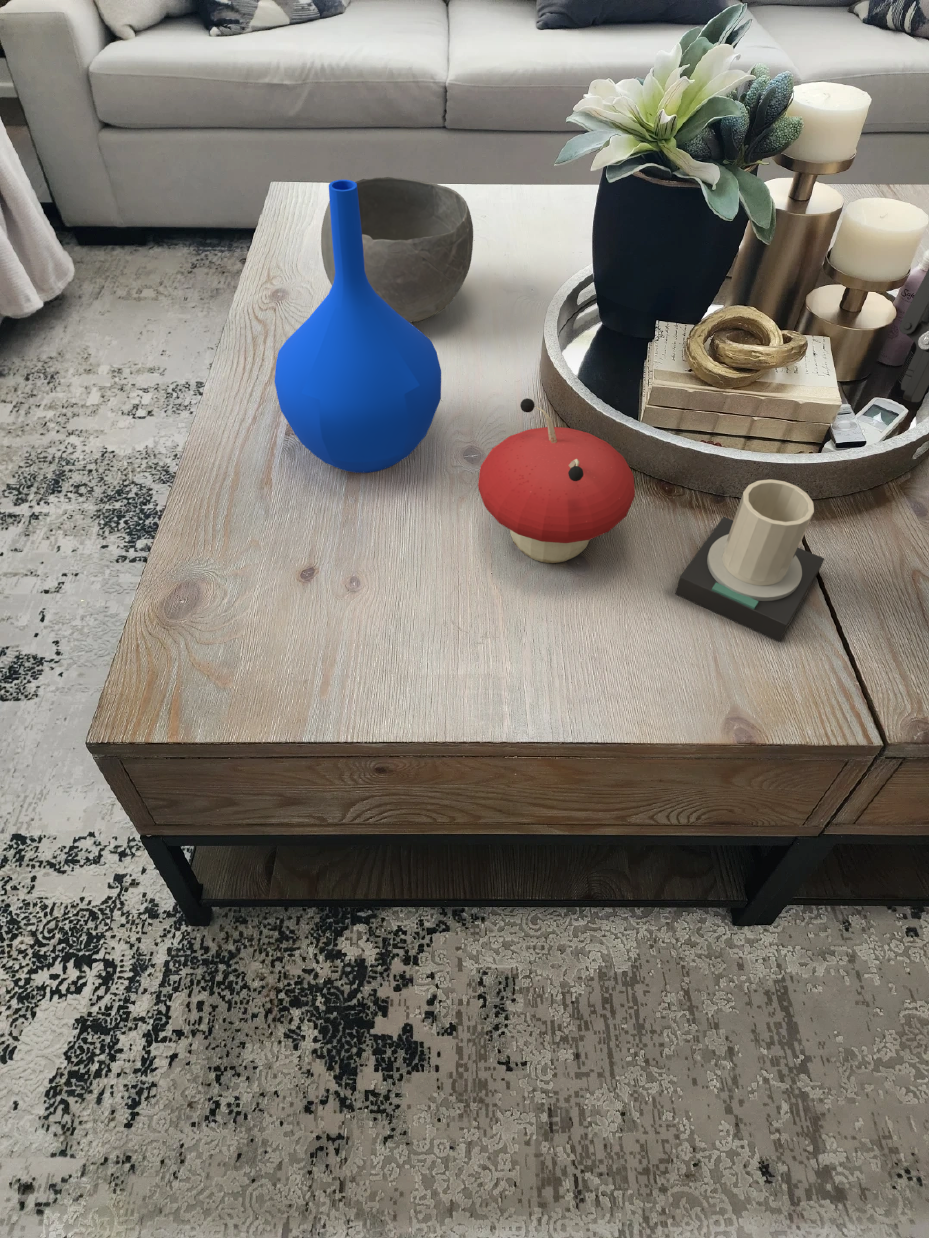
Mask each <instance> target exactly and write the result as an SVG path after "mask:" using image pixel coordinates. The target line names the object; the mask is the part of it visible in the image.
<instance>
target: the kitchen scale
mask: <svg viewBox="0 0 929 1238" xmlns="http://www.w3.org/2000/svg"><path fill="white" fill-rule="evenodd" d="M733 521H734V519H731V518H728V517H726V516H723V517H722V518H721V519H720V521H719V522H718V523H717V525H715V527H714V529H713V530H712V531H711V533H710V534H709V536H708V537H707V538H706V540H705V541H704V543H703V544H702V546H701V547H700V549H698V551H697V553H696V554H695V555H694V556H693V558H692V559H691V561H690V562H689V564H688V565H687V566H686V567H685V569H684V570H683V572H682V573H681V574H680V576H679V579H678V582H677V586H676V589H675V593H674V594H675V595H676V596H679V597H681V598H682V599H685V600H687V601H689V602H692V603H694V604H696V605H698V606H701V607H703V608H704V609H706V610H709V611H711V612H713V613H716V614H717V615H720V616H722V617H724V618H726V619H728V620H730V621H732V622H735V623H737V624H739V625H742V626H743V627H746V628H748V629H750V630H752V631H754V632H756V633H759V634H761V635H763V636H765V637H766V638H769V639H771V640H774V641H776V642H780V641H781V639H782V638H783V636H784V634H785V632H786V630H788V627H789V625H790V624H791V621H792V620H793V618H794V616H795V614H796V613H797V611H798V609H799V607H800V606H801V604H802V603H803V601H804V599H805V597H806V595H807V593H808V592H809V590H810V588H811V586H812V585H813V584H814V582H815V580H816V578H817V576H818V574H819V572H820V570H821V568H822V566H823V563H824V561H825V558H824V557H822V556H819V555H817V554H815V553H813V552H810V551H807V550H805V549H803V548H801V547H798V550H797V552H796V554H795V557H794V559H793V561H792V563H791V566H790V568H789V570H788V572H787V574H786V576H785V577H784V578H783V579H782V580H781V581H779V582H778V583H775V584H772V585H766V586H759V585H752V584H749V583H746V582H743V581H741V580H739V579H737V578H736V577H734V576H733V575H732V574H731V573H729V571H728V570H727V569H726V567H725V566H724V564H723V560H722V555H723V552H724V547H725V544H726V541H727V538H728V535H729V533H730V530H731V527H732V524H733Z"/></svg>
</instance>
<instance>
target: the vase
mask: <svg viewBox="0 0 929 1238" xmlns="http://www.w3.org/2000/svg"><path fill="white" fill-rule="evenodd" d="M355 182H356V181H354V180H350V179H335V180H332V181H331V182H329V184H328V197H329V201H330V214H331V229H332V243H333V255H334V265H335V277H334V283H333V285H331V288H330V289H329V292H328V294H327V295H326V296H325V298H324V299H323V300H322V301H321V302H320V304H319V305H318V306H317V307H316V308H315V310H314V311H313V312H312V314H311V315H310V316H309V317H308V318H307V319H306V320H305V321H304V322H303V323H302V324H301V325H300V326H299V327H298V328H297V329H296V330H295V331H294V332H293V333H292V334H291V335H290V336H289V337H288V338H287V339H286V340H285V341H284V343H283V345H282V346H281V347H280V348H279V350H278V351H277V357H276V362H275V372H274V385H275V392H276V396H277V401H278V405H279V408H280V411H281V413H282V414H283V417H284V418H285V419H286V422H287V423H288V425H289V427H290V428H291V430H292V431H293V434H294V435H295V436H296V437H297V439H298V440H299V442H300V443H301V444H302V445H303V446H304V447H305V448H306V449H307V450H308V451H309V452H310V453H311V454H312V455H314V456H315V458H317V459H319V460H320V461H322V462H323V463H325V464H327V465H329V466H332V467H334V468H337V469H339V470H341V471H343V472H344V471H345V472H349V473H353V474H354V473H355V474H371V473H376V472H381V471H384V470H387V469H389V468H391V467H393V466H395V465H396V464H398V463H400V462H401V461H403V460H405V459H406V458H408V457H409V456H410V454H412V453H413V451H415V450H416V448H417V447H418V446H419V445H420V444H421V442H422V441H423V440H424V439H425V437H426V436H427V434H428V431H429V430H430V427H431V425H432V423H433V420H434V417H435V415H436V413H437V410H438V407H439V404H440V402H441V399H442V367H441V364H440V359H439V356H438V353H437V350H436V348H435V346H434V343H433V342H432V340H431V339H430V338H429V337H427V336H426V335H425V334H424V332H422V331H421V330H420V329H418V328H417V327H416V326H415V325H413V324H412V322H408V321H407V320H405V319H404V318H403V317H402V316H400V315H399V314H398V313H397V312H396V311H395V310H393V309H392V308H391V307H390V306H389V305H388V304H387V303H386V302H385V301H384V300H383V299H382V298H381V297H380V296H379V295H378V294H376V293H375V291H374V289H373V288H372V286H371V285H370V283H369V282H368V279H367V276H366V273H365V267H364V252H363V240H362V230H361V220H360V210H359V200H358V190H357V184H356V183H355Z"/></svg>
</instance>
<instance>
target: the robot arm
mask: <svg viewBox="0 0 929 1238" xmlns="http://www.w3.org/2000/svg"><path fill="white" fill-rule="evenodd" d="M898 327H899V331H900V333H901V334H903V335H906V336H907V337H908V338H909V339H911V340H912V341H913V342H914V344H915V351H914V354H913V356H912V358H911V360H910V362H909V364H908V368H907V369H906V372H905V373H904V376H903V378H902V379H901V382H900V391H901V390H902V391H904V393H903V396H902V399H903V400H906V401H907V402H911V403H920V402H921V401H922V399H923V397H924V395H925V393H926V392H927V390H928V387H929V268H928V269H927V271H926V273H925V275H924V277H923V279H922V280H921V282H920V285H919V286H918V288H917V290H916V292H915V294H914V296H913V298H912V300H911V303H910V304H909V305H908V308H907V310H906V312H905V314H904V316H903V318H902V319H901V321H900V324H899V326H898Z"/></svg>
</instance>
